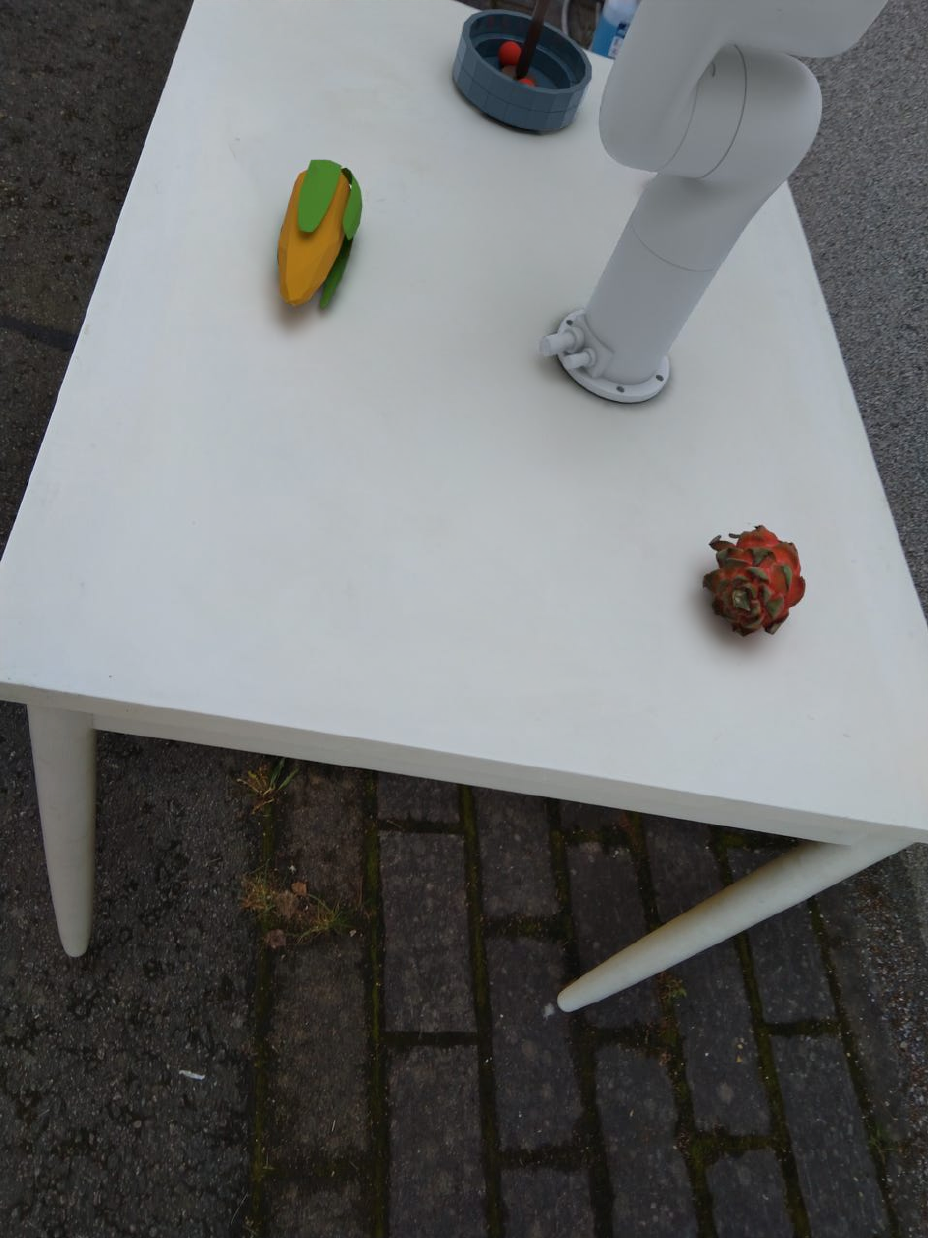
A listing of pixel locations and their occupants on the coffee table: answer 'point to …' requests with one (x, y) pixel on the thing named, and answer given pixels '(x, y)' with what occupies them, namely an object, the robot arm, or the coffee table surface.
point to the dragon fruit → (755, 580)
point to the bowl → (552, 64)
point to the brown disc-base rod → (529, 44)
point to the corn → (318, 231)
